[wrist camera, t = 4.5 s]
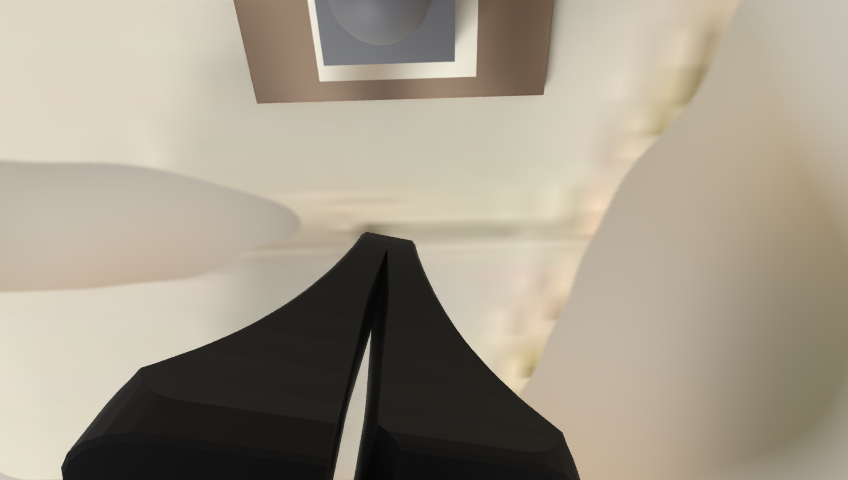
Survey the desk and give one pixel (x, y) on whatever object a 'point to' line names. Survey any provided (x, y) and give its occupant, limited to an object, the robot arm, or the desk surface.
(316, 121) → the desk surface
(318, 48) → the game board
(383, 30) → the pawn
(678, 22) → the desk surface
